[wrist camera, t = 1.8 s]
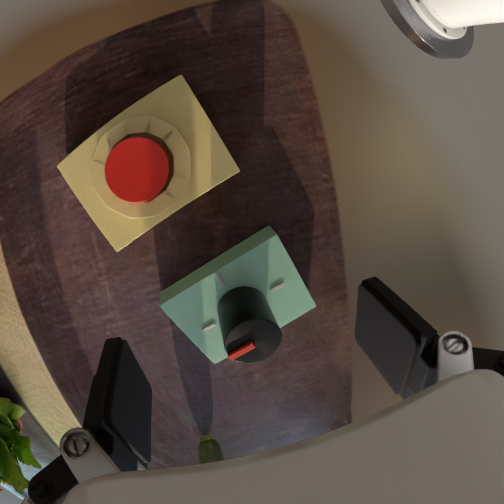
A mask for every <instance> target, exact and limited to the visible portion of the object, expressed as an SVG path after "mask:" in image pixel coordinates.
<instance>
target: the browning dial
mask: <svg viewBox="0 0 504 504" xmlns="http://www.w3.org/2000/svg"><path fill="white" fill-rule="evenodd" d="M217 313H218V319H219V324H220V329H221V334H222V339H223V344H224V349H225V351H226V353H227V355H228V357H229V358H230V359H231V360H235V361H237V362H241V363H256V362H260V361H263V360H265V359H267V358H269V357H270V356H272V355H273V354H274V353H275V352H276V351H277V350H278V348H279V347H280V345H281V342H282V332H281V330H280V327H279V325H278V323H277V321H276V319H275V317H274V315H273V313H272V311H271V308H270V306H269V304H268V302H267V300H266V298H265V296H264V295H263V293H262V292H261V291H259V290H258V289H256V288H253V287H249V286H241V287H236V288H233V289H231V290H229V291H228V292H226V293H225V294H224V295H223V296H222V297H221V299H220V301H219V303H218V306H217Z"/></svg>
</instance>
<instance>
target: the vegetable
mask: <svg viewBox="0 0 504 504" xmlns="http://www.w3.org/2000/svg"><path fill="white" fill-rule="evenodd" d="M200 442H201V443H200V444H199V447H198V452H199V464H204V463H211V462H217V461H223V460H224V459H223V455H222V452H221V448H220V446H219V444H218V442H217V441H215V440H214V438H213V436H212V435H211V434H210V433H209V434H208V435H207V436H204V437H202V438H200Z"/></svg>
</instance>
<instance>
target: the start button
mask: <svg viewBox="0 0 504 504" xmlns="http://www.w3.org/2000/svg"><path fill="white" fill-rule="evenodd" d="M169 173H170V159H169V156H168V153H167V151H166V149H165V148H164V147H163V146H162V145H161V144H160V143H159V142H158V141H156V140H154V139H152V138H149V137H131V138H128V139H125V140H123V141H121V142H120V143H118V144H117V145H116V146H115V147H114V148H113V149H112V150H111V152H110V153H109V155H108V157H107V160H106V163H105V179H106V182H107V185H108V187H109V188H110V190H111V191H112V192H113V193H114V194H115V195H116V196H117V197H118V198H120V199H122V200H124V201H127V202H132V203H139V202H144V201H147V200H149V199H151V198H153V197H154V196H156V195H157V194H158V193H159V192H160V191H161V190H162V188H163V187H164V185H165V183H166V181H167V179H168V176H169Z"/></svg>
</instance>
